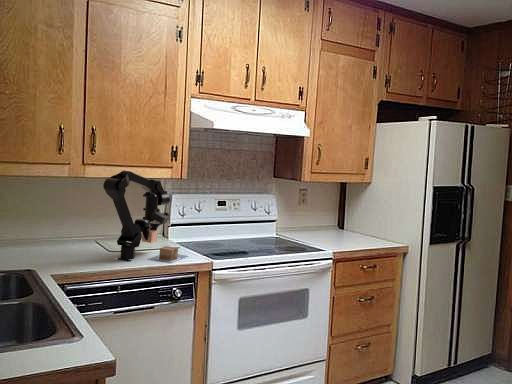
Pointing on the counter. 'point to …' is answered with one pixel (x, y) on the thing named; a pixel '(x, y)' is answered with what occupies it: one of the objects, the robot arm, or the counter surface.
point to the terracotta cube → (150, 237)
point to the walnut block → (168, 253)
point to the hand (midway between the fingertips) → (149, 239)
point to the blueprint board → (167, 260)
